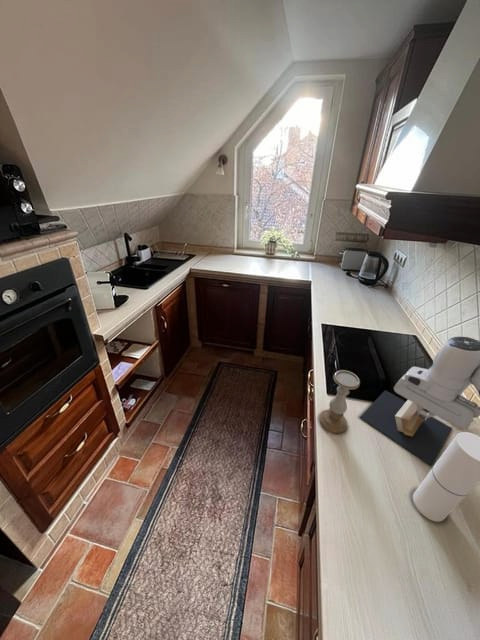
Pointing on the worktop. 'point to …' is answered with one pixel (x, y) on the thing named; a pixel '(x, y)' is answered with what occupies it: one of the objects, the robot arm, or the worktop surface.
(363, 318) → the worktop surface
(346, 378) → the candle holder
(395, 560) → the worktop surface
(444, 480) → the cylindrical container
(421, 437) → the mat
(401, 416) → the wooden block
